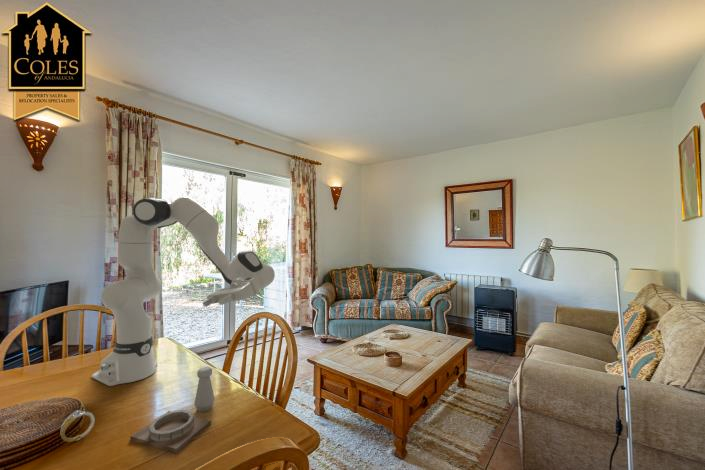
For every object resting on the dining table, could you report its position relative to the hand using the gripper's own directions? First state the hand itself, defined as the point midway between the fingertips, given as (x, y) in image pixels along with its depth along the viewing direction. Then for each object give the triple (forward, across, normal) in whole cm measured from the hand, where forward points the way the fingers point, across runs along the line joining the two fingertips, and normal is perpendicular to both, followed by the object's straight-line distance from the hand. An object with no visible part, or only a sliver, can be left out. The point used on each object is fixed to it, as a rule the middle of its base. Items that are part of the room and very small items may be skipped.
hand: (211, 303), depth 105 cm
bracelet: (+40, -16, +20) cm, 47 cm away
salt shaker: (+15, 0, +30) cm, 33 cm away
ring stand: (+26, +3, +27) cm, 38 cm away
